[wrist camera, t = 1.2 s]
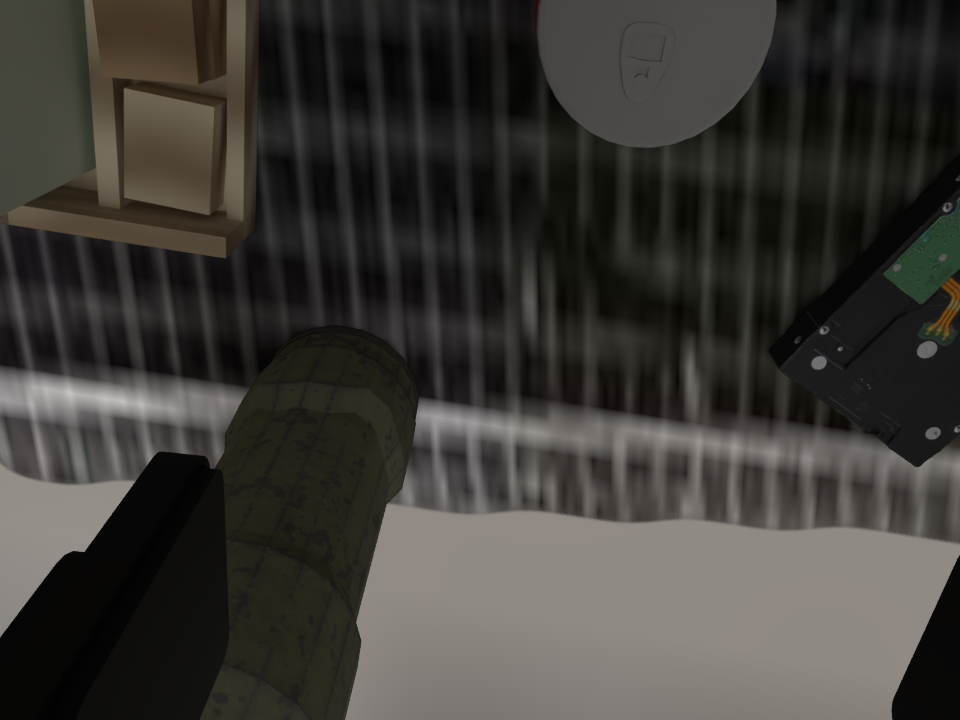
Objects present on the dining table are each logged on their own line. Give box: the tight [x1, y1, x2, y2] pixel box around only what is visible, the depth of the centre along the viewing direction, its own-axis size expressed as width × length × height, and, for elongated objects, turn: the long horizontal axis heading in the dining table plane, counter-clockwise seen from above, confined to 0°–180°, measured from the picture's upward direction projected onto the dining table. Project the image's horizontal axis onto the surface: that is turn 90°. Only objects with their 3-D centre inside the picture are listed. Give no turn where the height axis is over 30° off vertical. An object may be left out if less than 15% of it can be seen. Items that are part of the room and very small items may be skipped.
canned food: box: [535, 0, 776, 148], centre depth 31 cm, size 8×8×11 cm
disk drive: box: [769, 155, 960, 467], centre depth 40 cm, size 10×3×15 cm
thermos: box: [200, 326, 419, 720], centre depth 30 cm, size 9×12×35 cm
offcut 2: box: [124, 81, 227, 215], centre depth 38 cm, size 5×4×2 cm
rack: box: [0, 0, 260, 258], centre depth 36 cm, size 14×11×4 cm
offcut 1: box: [92, 0, 215, 85], centre depth 33 cm, size 5×4×2 cm
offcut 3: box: [210, 0, 227, 81], centre depth 35 cm, size 5×4×2 cm
